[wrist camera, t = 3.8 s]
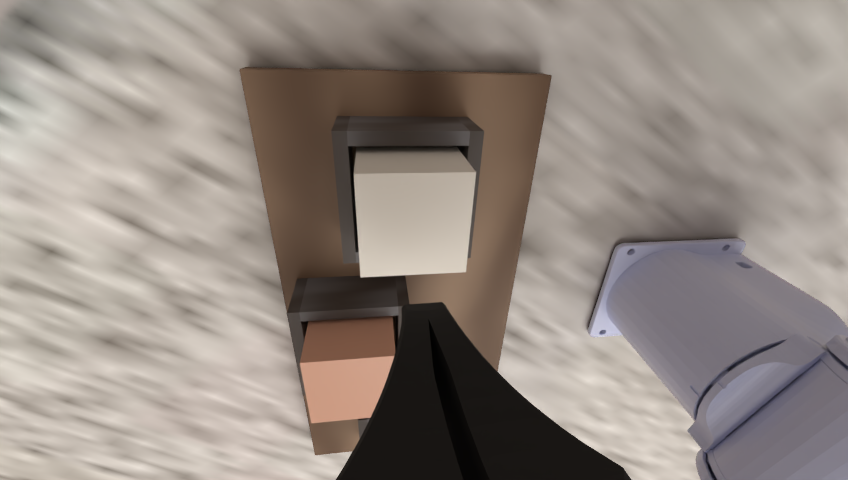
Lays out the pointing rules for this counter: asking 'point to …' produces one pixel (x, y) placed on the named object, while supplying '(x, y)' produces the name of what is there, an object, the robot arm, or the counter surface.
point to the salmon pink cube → (346, 366)
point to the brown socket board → (335, 193)
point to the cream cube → (413, 210)
